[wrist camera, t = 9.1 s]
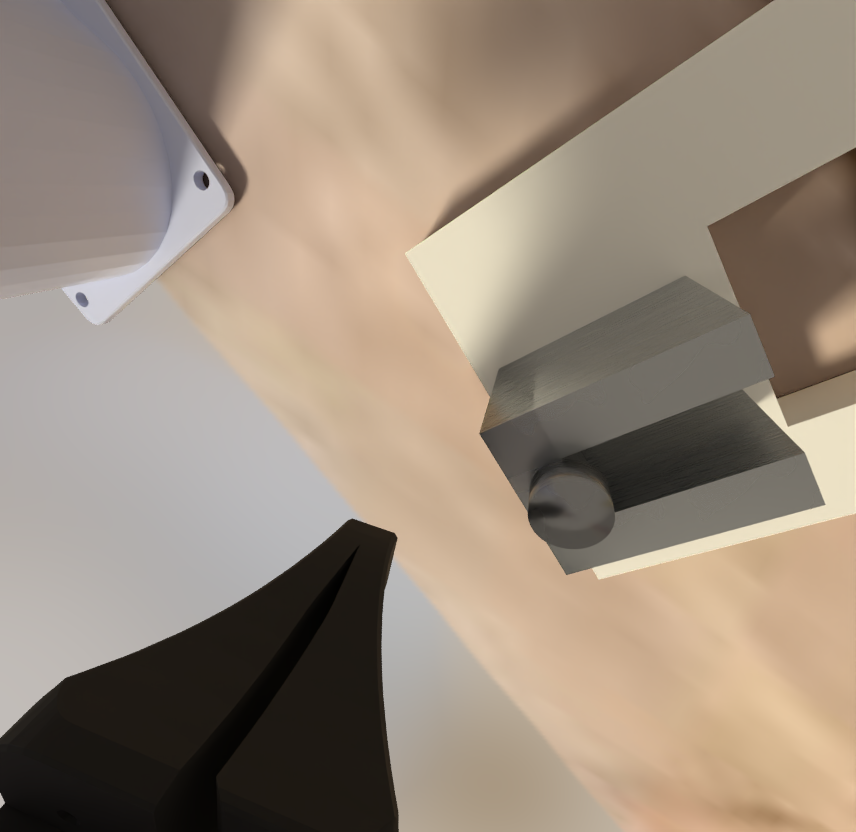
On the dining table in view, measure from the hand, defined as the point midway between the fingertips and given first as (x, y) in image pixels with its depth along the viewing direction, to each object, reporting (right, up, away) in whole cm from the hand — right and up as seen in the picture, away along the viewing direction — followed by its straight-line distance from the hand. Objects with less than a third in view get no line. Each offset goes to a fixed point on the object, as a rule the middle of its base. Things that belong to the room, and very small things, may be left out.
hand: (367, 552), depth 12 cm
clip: (+7, +4, 0) cm, 8 cm away
